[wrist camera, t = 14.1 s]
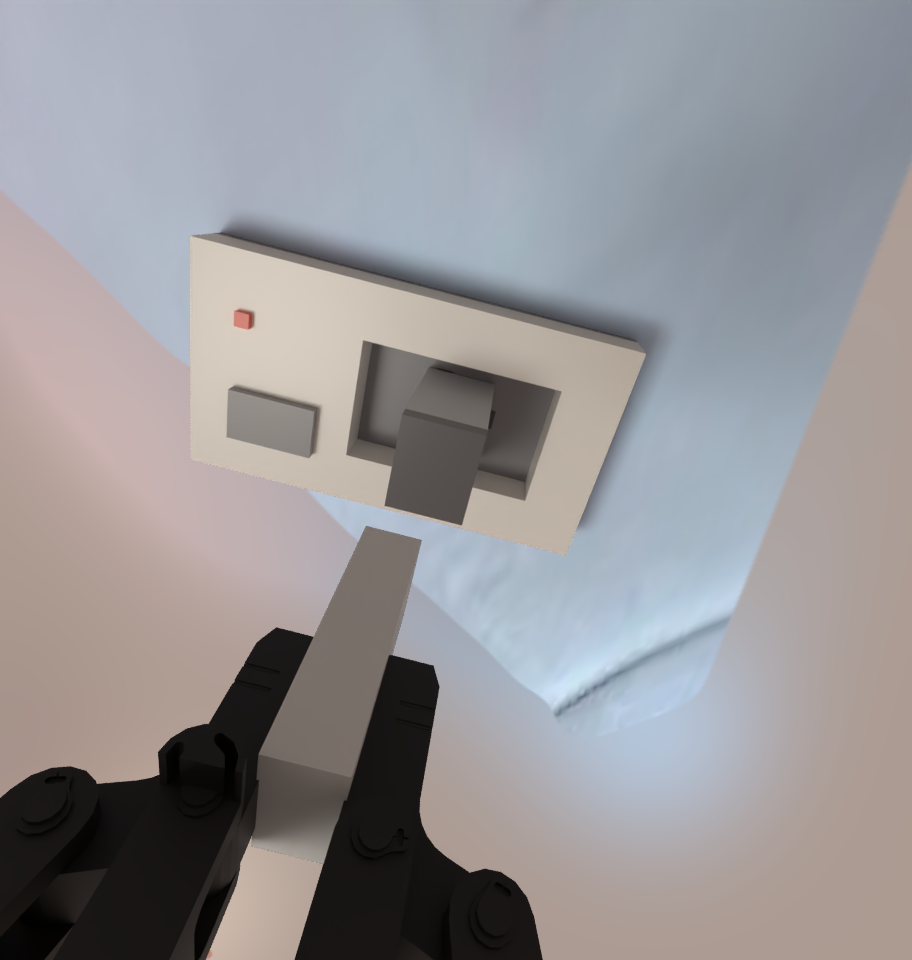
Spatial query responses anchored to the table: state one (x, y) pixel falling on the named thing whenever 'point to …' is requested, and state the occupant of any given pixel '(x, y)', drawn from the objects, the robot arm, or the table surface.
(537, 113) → the table surface
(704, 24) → the table surface
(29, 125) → the table surface
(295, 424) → the socket plate
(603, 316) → the table surface
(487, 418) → the plug
